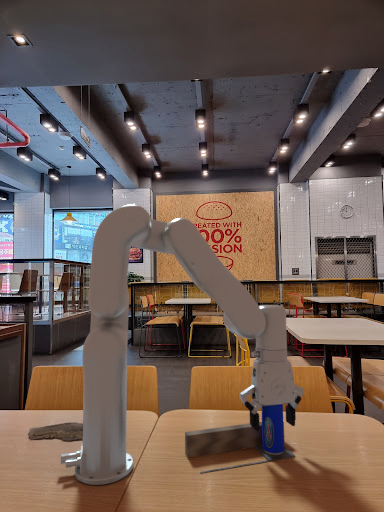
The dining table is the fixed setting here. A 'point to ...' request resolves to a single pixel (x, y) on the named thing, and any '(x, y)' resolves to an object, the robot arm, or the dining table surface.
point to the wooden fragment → (58, 432)
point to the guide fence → (228, 442)
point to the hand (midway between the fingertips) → (273, 426)
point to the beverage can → (272, 429)
